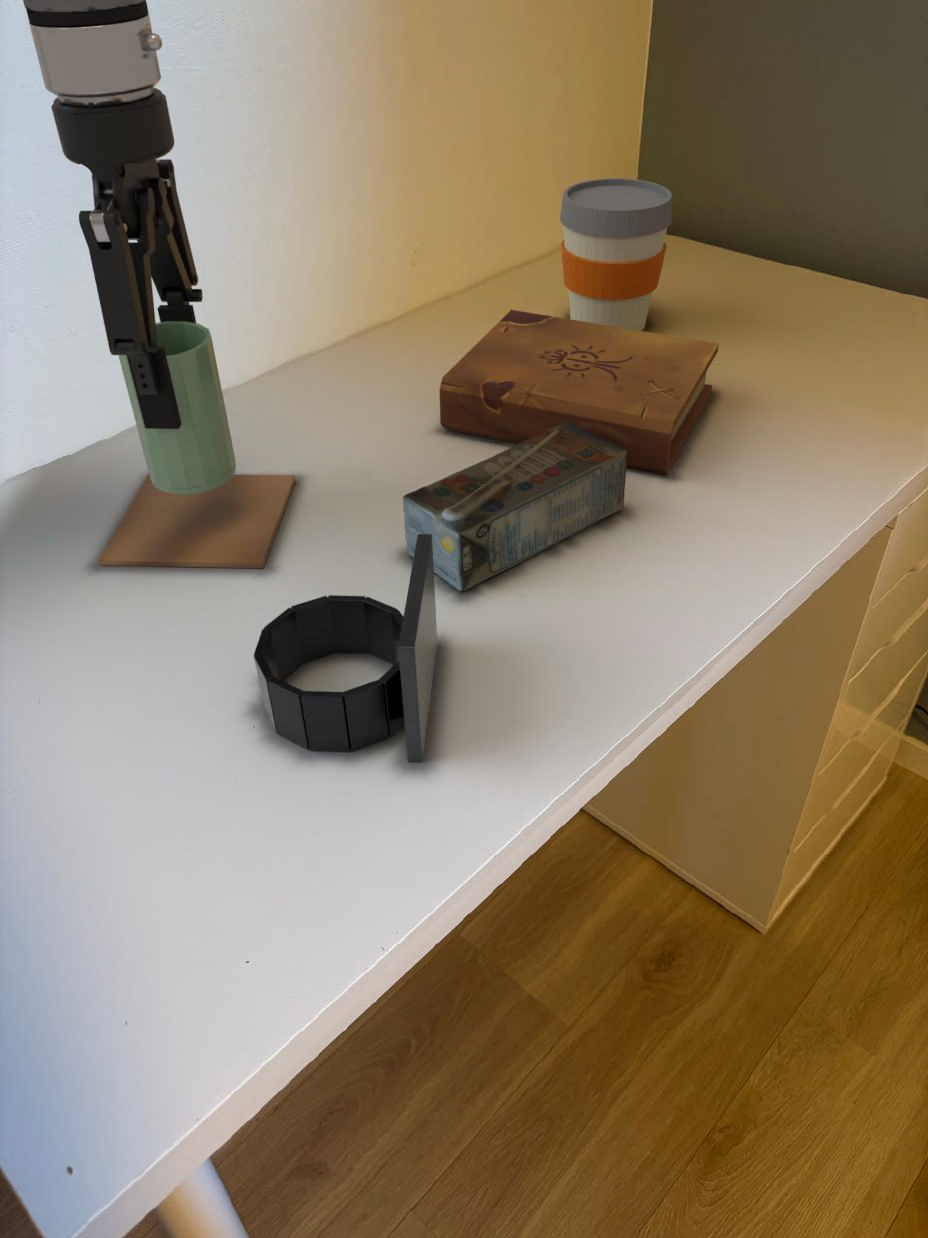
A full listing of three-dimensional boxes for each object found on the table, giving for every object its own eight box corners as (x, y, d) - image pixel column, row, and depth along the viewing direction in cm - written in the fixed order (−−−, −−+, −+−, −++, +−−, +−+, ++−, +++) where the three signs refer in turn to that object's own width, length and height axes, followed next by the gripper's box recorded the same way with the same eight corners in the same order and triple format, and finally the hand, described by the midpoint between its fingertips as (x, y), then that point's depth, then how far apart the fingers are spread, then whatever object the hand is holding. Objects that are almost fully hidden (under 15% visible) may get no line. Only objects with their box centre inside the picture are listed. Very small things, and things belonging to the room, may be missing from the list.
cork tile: (99, 565, 84) (97, 559, 83) (150, 478, 94) (148, 472, 94) (263, 568, 83) (262, 562, 82) (295, 480, 93) (294, 474, 93)
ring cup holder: (249, 756, 66) (223, 643, 60) (285, 640, 75) (266, 530, 69) (422, 762, 66) (414, 647, 59) (437, 643, 75) (432, 533, 68)
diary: (440, 433, 100) (438, 380, 96) (510, 358, 113) (510, 309, 109) (664, 478, 92) (671, 422, 89) (711, 393, 105) (719, 341, 102)
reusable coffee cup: (650, 350, 114) (664, 215, 104) (544, 338, 117) (548, 206, 108) (667, 308, 123) (682, 181, 114) (568, 298, 126) (574, 174, 117)
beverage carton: (401, 553, 84) (396, 485, 80) (566, 475, 93) (569, 412, 89) (460, 597, 79) (458, 528, 75) (628, 511, 88) (635, 445, 84)
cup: (139, 494, 83) (103, 358, 75) (165, 450, 88) (133, 320, 81) (224, 495, 82) (196, 359, 75) (244, 451, 88) (220, 320, 80)
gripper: (111, 128, 59) (188, 466, 73) (201, 61, 74) (251, 350, 89) (-12, 130, 59) (89, 465, 74) (103, 62, 75) (168, 350, 89)
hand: (177, 402), depth 81 cm, fingers closed on cup, 7 cm apart
